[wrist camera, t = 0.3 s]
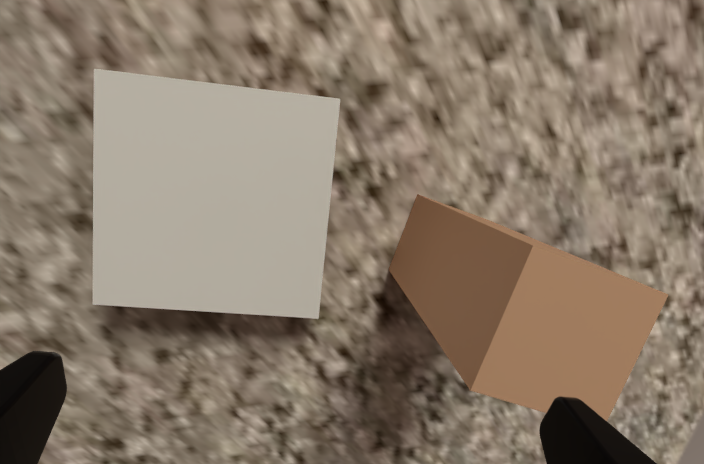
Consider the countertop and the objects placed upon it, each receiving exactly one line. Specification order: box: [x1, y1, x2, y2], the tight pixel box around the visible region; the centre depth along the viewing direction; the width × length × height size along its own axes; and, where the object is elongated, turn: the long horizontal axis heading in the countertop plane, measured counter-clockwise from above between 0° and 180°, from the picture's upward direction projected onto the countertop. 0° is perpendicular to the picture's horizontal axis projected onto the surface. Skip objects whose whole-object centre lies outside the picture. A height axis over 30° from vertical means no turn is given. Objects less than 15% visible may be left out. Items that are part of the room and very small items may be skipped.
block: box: [389, 195, 668, 421], centre depth 18 cm, size 4×4×12 cm
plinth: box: [93, 69, 340, 319], centre depth 21 cm, size 10×10×2 cm
